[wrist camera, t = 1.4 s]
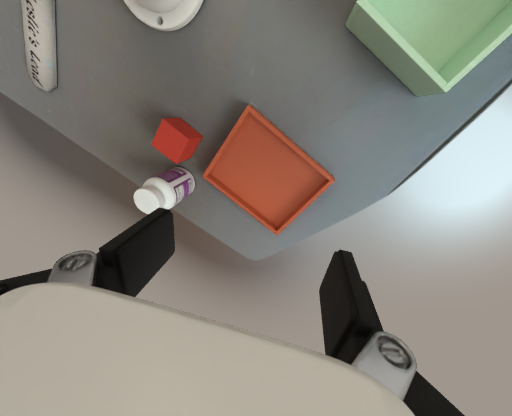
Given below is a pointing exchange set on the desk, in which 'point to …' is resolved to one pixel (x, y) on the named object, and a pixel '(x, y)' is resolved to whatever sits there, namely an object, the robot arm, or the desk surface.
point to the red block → (176, 139)
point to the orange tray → (266, 172)
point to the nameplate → (40, 42)
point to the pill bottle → (164, 190)
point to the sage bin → (431, 37)
